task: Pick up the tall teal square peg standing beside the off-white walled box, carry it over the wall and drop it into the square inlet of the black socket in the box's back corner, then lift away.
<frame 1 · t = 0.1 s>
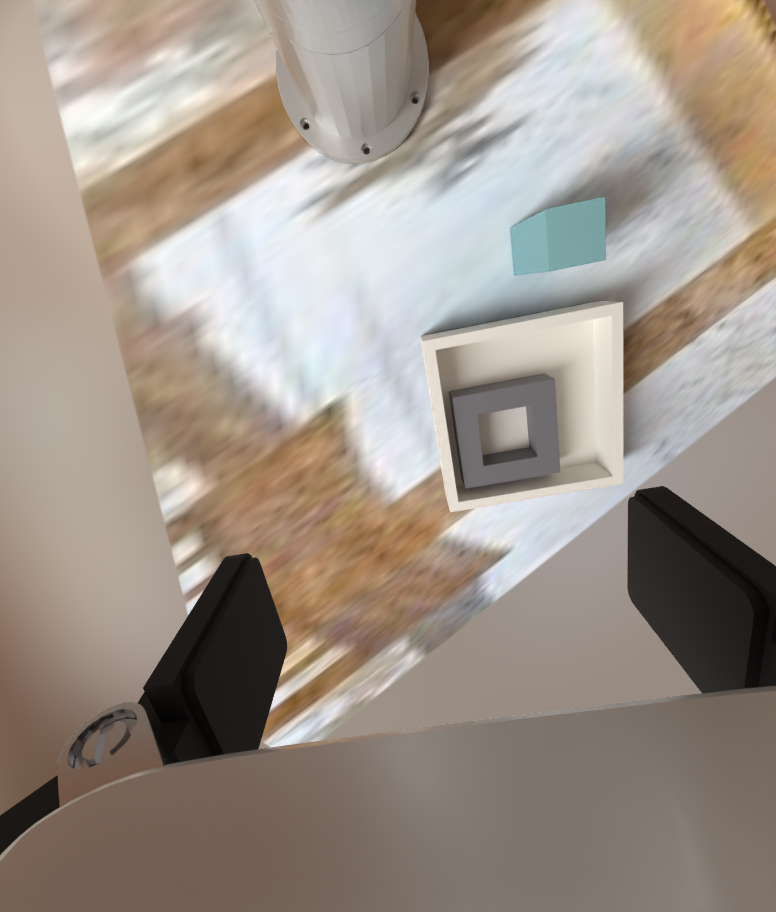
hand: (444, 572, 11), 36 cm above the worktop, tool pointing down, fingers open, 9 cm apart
peg: (534, 247, 41), on the worktop
walled box: (516, 405, 47), on the worktop
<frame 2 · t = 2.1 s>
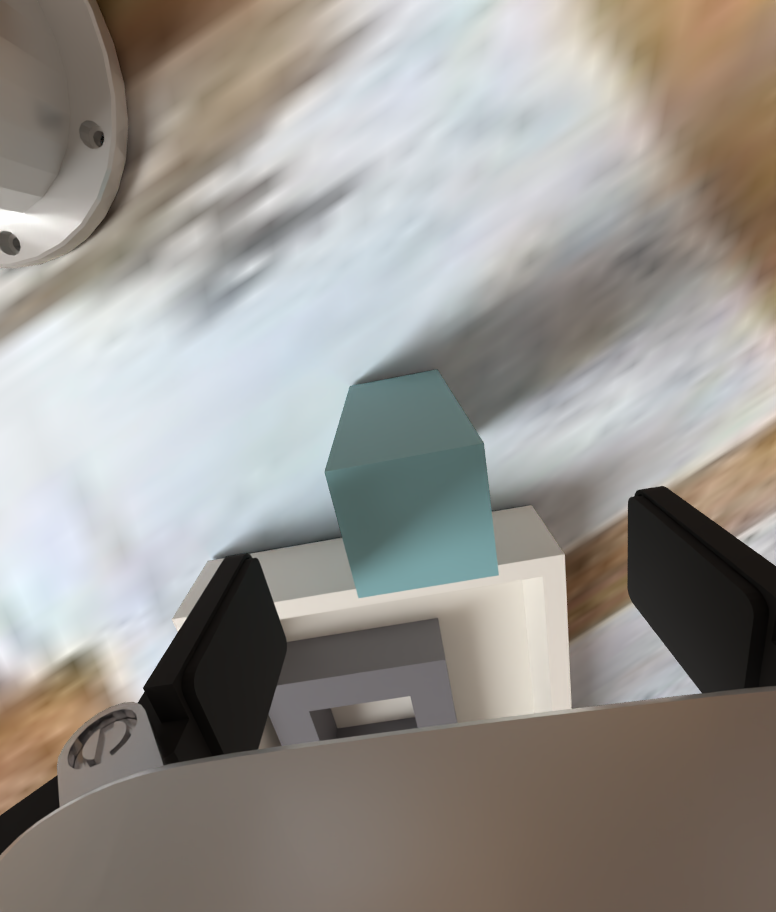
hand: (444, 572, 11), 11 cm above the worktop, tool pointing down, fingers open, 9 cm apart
peg: (401, 419, 21), on the worktop
walled box: (396, 655, 27), on the worktop
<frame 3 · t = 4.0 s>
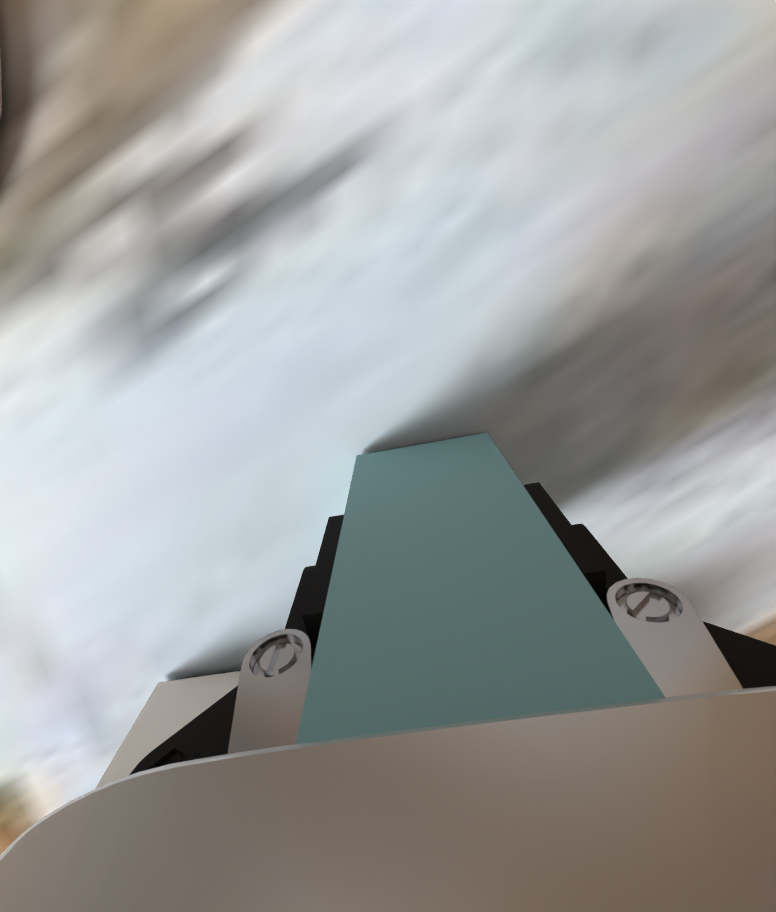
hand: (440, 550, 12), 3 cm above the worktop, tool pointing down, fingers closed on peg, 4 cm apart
peg: (431, 502, 15), on the worktop, touching gripper
walled box: (416, 800, 20), on the worktop
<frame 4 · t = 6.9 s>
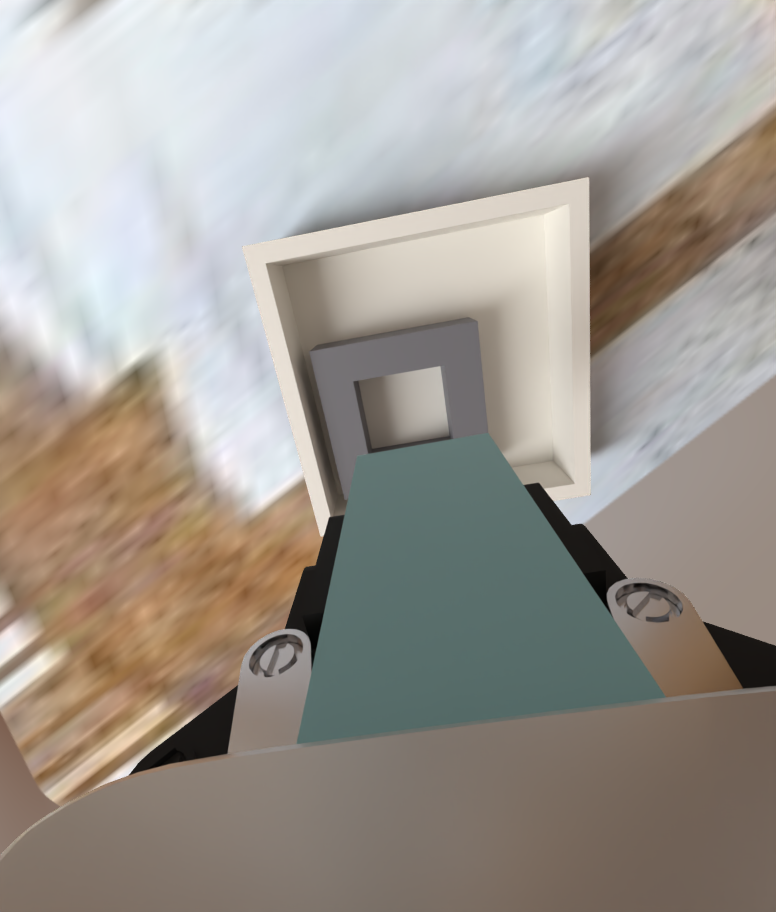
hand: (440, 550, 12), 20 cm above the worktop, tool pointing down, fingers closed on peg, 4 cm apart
peg: (432, 502, 14), point 17 cm above the worktop, touching gripper
walled box: (428, 369, 30), on the worktop
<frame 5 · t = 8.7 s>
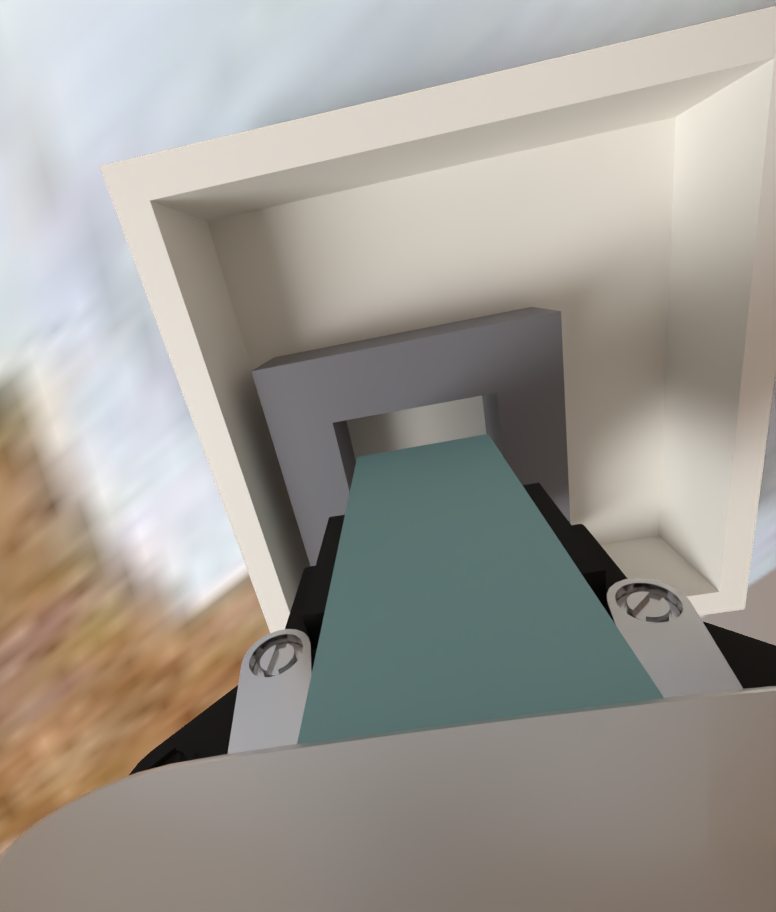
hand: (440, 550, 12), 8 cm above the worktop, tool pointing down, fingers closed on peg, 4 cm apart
peg: (431, 503, 15), point 5 cm above the worktop, touching gripper
walled box: (459, 395, 18), on the worktop
when the fingers open (5 cm above the worktop, at t = 10.2 s): peg drops 1 cm, resting on walled box.
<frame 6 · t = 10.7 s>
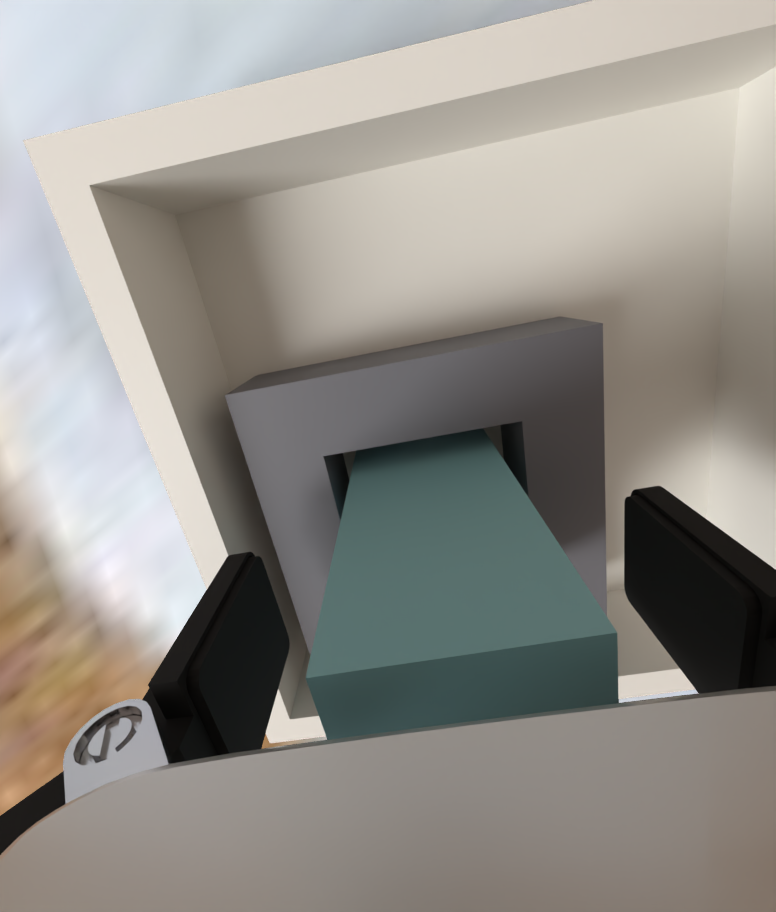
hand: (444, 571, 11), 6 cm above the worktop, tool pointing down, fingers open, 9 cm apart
peg: (427, 484, 16), point 1 cm above the worktop, touching walled box
walled box: (473, 417, 16), on the worktop
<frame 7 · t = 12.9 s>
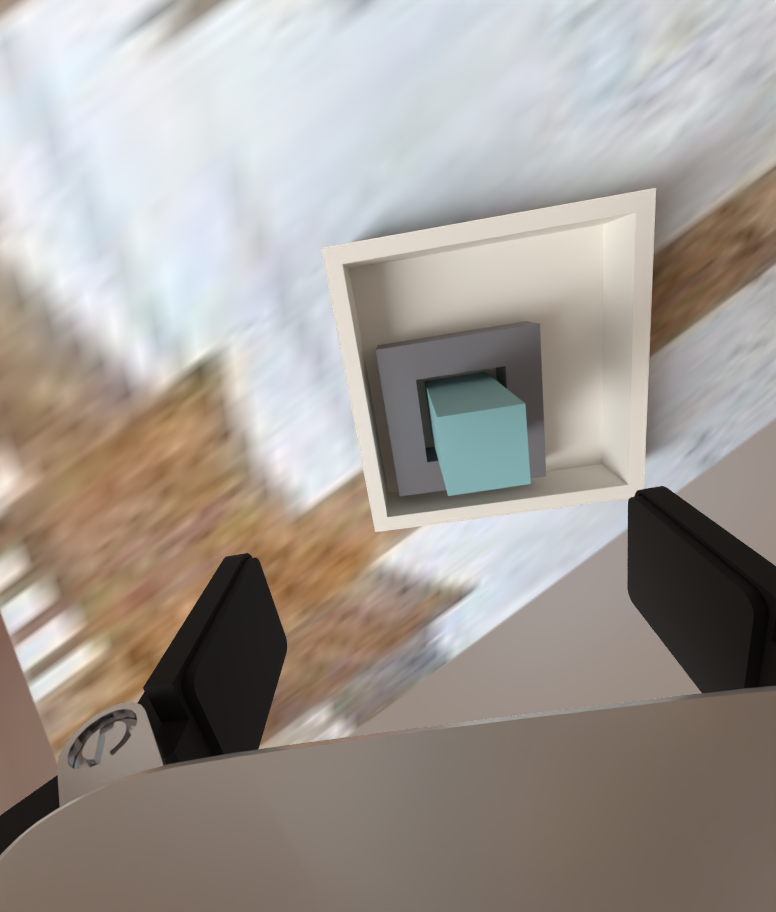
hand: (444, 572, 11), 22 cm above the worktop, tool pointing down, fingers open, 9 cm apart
peg: (457, 405, 31), point 1 cm above the worktop, touching walled box
walled box: (482, 371, 31), on the worktop
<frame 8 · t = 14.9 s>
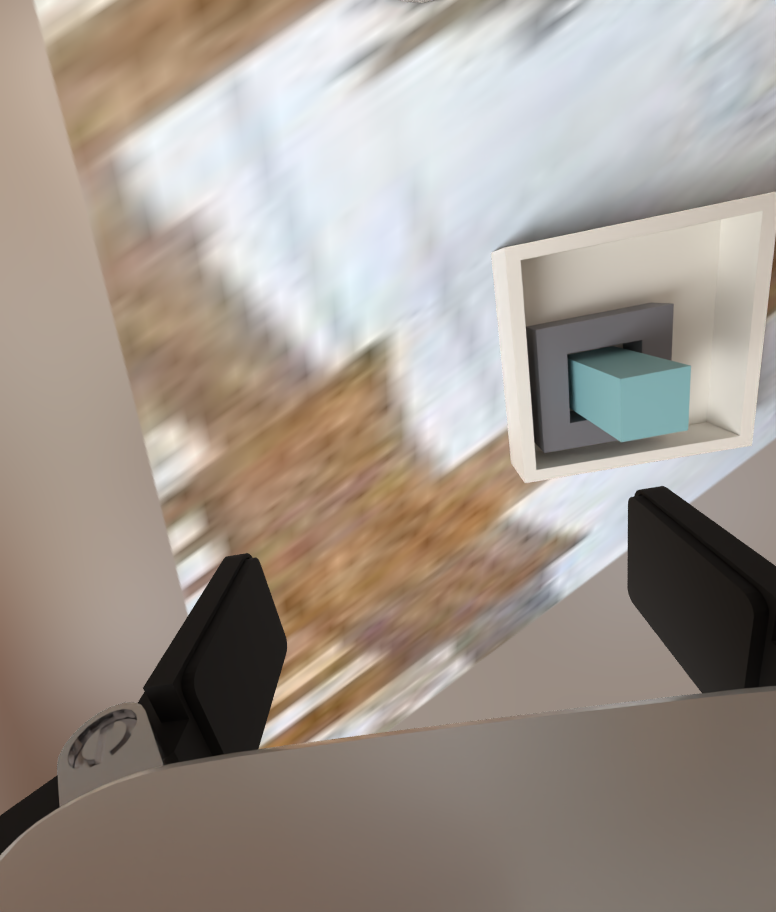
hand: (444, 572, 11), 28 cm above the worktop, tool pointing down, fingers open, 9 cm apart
peg: (588, 375, 37), point 1 cm above the worktop, touching walled box
walled box: (609, 346, 36), on the worktop
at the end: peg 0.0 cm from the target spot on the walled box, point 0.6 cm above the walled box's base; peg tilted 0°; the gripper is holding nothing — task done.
